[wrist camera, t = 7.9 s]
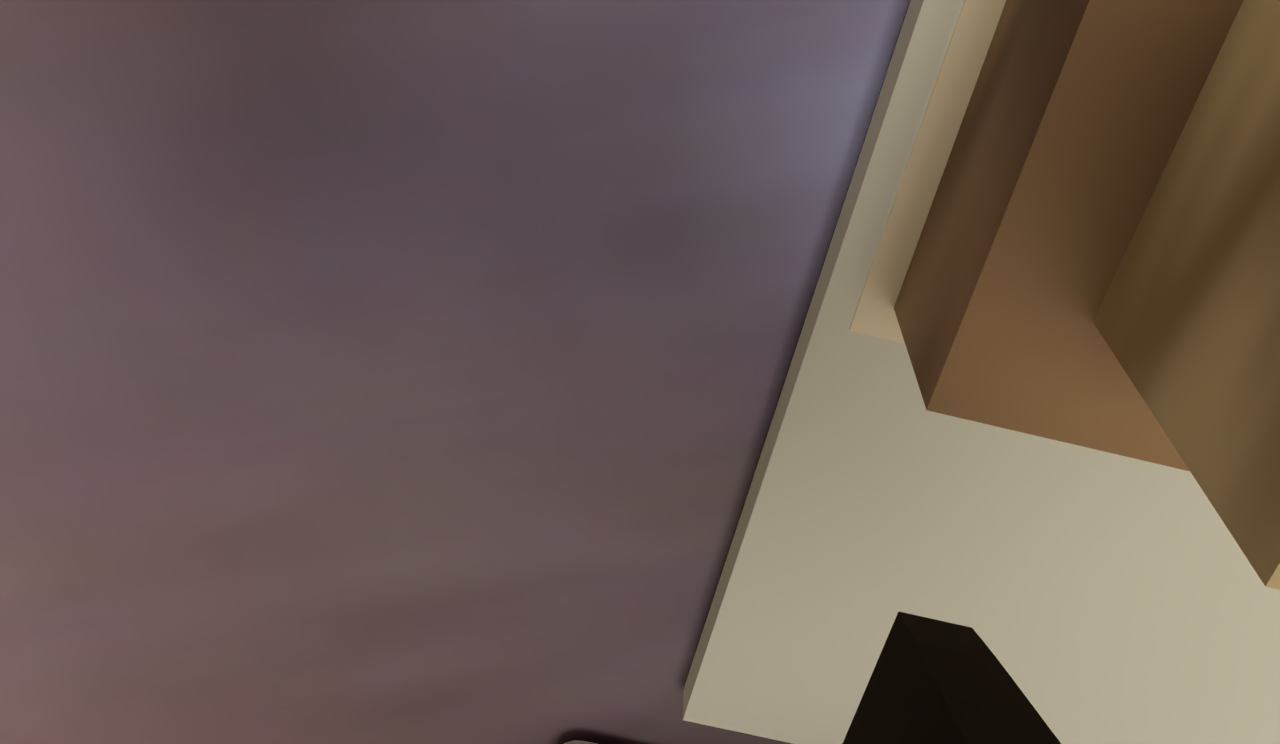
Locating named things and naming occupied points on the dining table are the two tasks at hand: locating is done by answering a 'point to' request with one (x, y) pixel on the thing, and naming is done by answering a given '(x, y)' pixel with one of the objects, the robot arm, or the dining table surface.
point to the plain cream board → (964, 505)
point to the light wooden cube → (1216, 290)
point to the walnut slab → (1053, 216)
